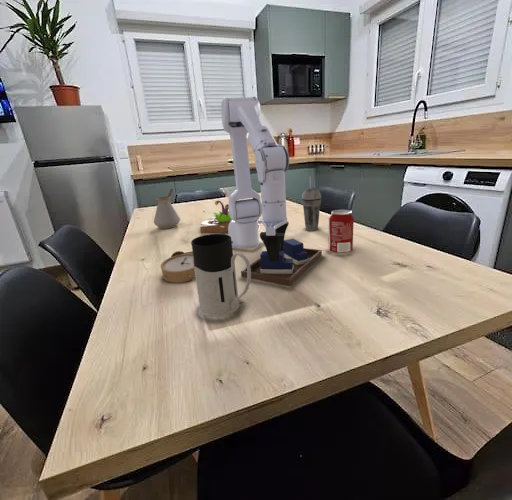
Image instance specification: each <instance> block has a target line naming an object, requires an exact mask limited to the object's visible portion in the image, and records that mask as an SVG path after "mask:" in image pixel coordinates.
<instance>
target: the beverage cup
mask: <svg viewBox="0 0 512 500" xmlns="http://www.w3.org/2000/svg"><path fill="white" fill-rule="evenodd" d="M301 203H302V207H303V208H302V209H303V217H304V218H303V219H304V226H305V230H306V231H312V232H314V231H317V230H319V222H320V211H321V203H322V193H321V191H319V189H318V188H316V187H312V175H309V187H307V188H306V189H304V191H303V192H302V194H301Z"/></svg>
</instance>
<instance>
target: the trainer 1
mask: <svg viewBox="0 0 512 500" xmlns="http://www.w3.org/2000/svg"><path fill="white" fill-rule="evenodd" d="M259 256H260V257H259V259H261V269H260V272H261V273H271V274H293V269H294V266H293V259H285V258H284V251H280V257H279V261H270V260H269V257H268V254H267V250H262V251H261V253H260V255H259Z"/></svg>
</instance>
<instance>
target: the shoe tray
mask: <svg viewBox="0 0 512 500" xmlns="http://www.w3.org/2000/svg"><path fill="white" fill-rule="evenodd" d="M280 251H284V250H283V249H282V250H280ZM304 251H305V252H307V253H308V259H309V260H308V261H307V262H306V263H304V264H300V265H297V264H295V263H293V266H294V269H293V274H271V273H261V272H260V269H261V259H260V258H259V259H257V260H256V261H254V262H252V263H250V267H251V280H256V281H261V282H266V283H270V284H271V283H272V284H276V285H281V286H287V287H291V285H293V284H294V283H295V282H296V281H297V280H298V279H299V278H300V277H301V276H302V275H303V274H304V273H305V272H307V270H308V269H309V268H310V267H311V266H312V265H313V264H314V263H316V262H317V261H318V260H319V259H320V258H321V257H322V255H323V250H322V249H315V248H307V247H304ZM284 258H285V257H284ZM285 259H287V258H285ZM240 275H241V278H246V279H247V267H245V268H243V269H241V271H240Z"/></svg>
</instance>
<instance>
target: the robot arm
mask: <svg viewBox="0 0 512 500" xmlns="http://www.w3.org/2000/svg"><path fill="white" fill-rule="evenodd" d="M220 114H221V115H220V116H221V124H222V128H223V132H226V133H227V134H228V135H229V137H230V144H231V152H232V153H231V154H232V163H233V171H234V172H233V173H234V180H235V181H234V182H235V190H234V191H233V192H232V193H231V194H230V195H229V196H228V204H229V209H228V211H229V215H230V218H231V219H232V221H230V223H229V226H228V232H227V233H228V234H227V235H229V236H231V241H232V249H234V248H242V249H250V248H251V249H252V248H256V247H258V246H259V245H260V243H261V242H262V243H263V245H264V247H265V251H267V254H268V257H269V260H270V261H279V257H280V250H282V249H283V244H284V240H285V235H286V232H287V228H288V226H289V224H290V223H289V221H288V217H287V194H286V191H287V190H286V172H287V171H288V169H289V168H290V167H289V166H290V154H289V152H288V149H287V147H286V145H283V144H280V143H277V141H276V139H275V138H274V136H273V134H272V132H271V130H270V128H269V127H267V126H266V125H263V124H262V122H261V119H260V115H261V104H260V101H259V99H258V98H257V96H251V97H248V96H247V97H223V98H222V99H221V102H220ZM248 145H249V146H250V148H251V150H252V152H253V155H254V165H255V170H256V173H257V180H258V182H259V183H260V185H259V186H260V193H258V192H257V191H256V190H254V189H252V180H251V169H250V168H251V167H250V158H249V149H248ZM261 217H262V218H261ZM259 224H262V226H263V227H264V228H265V231H261V232H259ZM260 240H261V241H260Z"/></svg>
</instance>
